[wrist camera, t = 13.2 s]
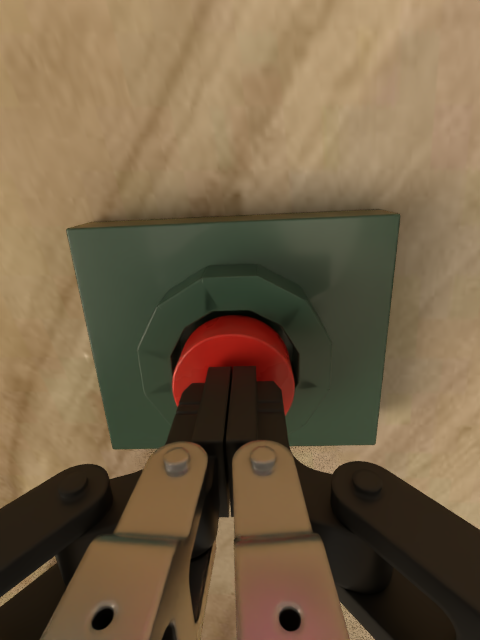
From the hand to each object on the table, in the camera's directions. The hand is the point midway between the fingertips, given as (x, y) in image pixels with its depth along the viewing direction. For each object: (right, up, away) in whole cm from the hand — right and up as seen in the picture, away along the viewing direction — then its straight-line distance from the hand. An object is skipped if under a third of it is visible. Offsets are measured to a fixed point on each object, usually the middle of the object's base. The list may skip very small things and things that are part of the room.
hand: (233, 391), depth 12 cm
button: (0, +1, +2) cm, 2 cm away
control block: (0, +2, +5) cm, 6 cm away
